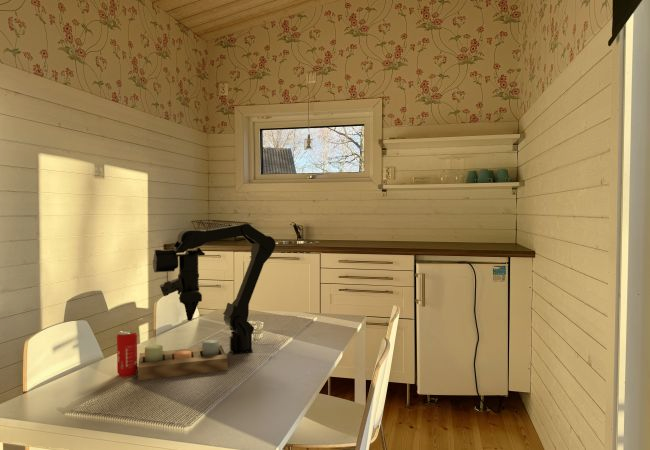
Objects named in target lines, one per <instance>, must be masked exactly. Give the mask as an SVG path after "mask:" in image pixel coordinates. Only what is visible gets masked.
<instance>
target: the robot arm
mask: <svg viewBox="0 0 650 450" xmlns="http://www.w3.org/2000/svg"><path fill="white" fill-rule="evenodd" d="M237 237H242V238H244V239H245V240H246V241H247V242H248V243H249V244H250V245H251V248H250V260H249V264H248V266H247V268H246V272H245V273H244V277H243V278H242V279H243V280H242V282H241V285H240V288H239V289H238V292H237V294H236V298H235V299H234V301H232V303H230V302H227V303H226V308H225V310H224V311H223V313H222V314H223V315H224V316H223V321H224V323H225V325H226V326H228V328H229V330H230V335H229V337H228V338H229V339H228V340H229V342H228V343H229V350H230V351H231V353H232V354H233V355H235V354H236V355H237V354H246V353H253V352H254V350H253V347H252V346H253V345H252V342H253V341H252V340H253V339H252V336H253V334H254V333H253V332H254V331H255V326H253V325H252V324H251V323H250V322H249V321H248V318H249V314H250V313H249V312H250V309H249V307H250V306H249V305H250V302H251V299H252V297H253V294H254V292H255V288H256V287H257V283H258V280H259V278H260V275H261V273H262V270H263V267H264V265H265V263H266V262H267V261H268V260H269V258H271V256H272V254H273V253H274V251H275V249H276V246H277V245H276V244H277V243H276V241H275V239H274V237H272V236H269V235H266V234H264V233H263V232H261V231H259V230H258V229H256V228H255V227H254V226H252V225H251V224H250V223H243V222H242V223H240V224H235V225H229V226H224V227H217V228H212V229H184V230H181V231H180V232H179V233H178V234H177V238H176V239H177V240H176V242H175V243H174V244H173V246H172V247H171V249H154V254H153V259H152V269H153V273H168V272H175V270H176V269H179V271H178V272H179V273H178V274H177V278H175V279H171V280H168V281H165V282H163V283H162V284H160V286H159V289H160V291H161V292H162V295H163V297H167V296H169V295H171V294H173V293H175V292H177V295H179V296H178V299H179V303H181V304H183V305H184V309H185V314H186V319H187V321H189V322H191V321H192V320H193V317H194V314H195V312H196V310H197V308H198V305H199V303H200V302H202V301H203V296H202V295H203V294H202V292H200V286H199V278H200V273H199V256H205V255H206V253H205V252H204V251H202V249H201V248H200V247H201V246H204V245H206V244H208V243H211V242H216V241H220V240H221V241H222V240H227V239H232V238H237Z"/></svg>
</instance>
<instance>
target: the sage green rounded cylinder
mask: <svg viewBox="0 0 650 450" xmlns="http://www.w3.org/2000/svg"><path fill="white" fill-rule="evenodd" d="M201 345H202V346H201V347H202V356H203V357H204V356H213V355H219V346H220V341H219V340H217V339H207V340H203V341H202V342H201Z"/></svg>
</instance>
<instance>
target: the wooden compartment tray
mask: <svg viewBox="0 0 650 450" xmlns="http://www.w3.org/2000/svg"><path fill="white" fill-rule="evenodd" d="M178 351H191V358H184V359H174V353H175V352H178ZM228 364H229V362H228V357H227V355H226V352H225V350H224V348H223V346H222V345H219V355H213V356H204V357H203V356H202V346H201V347H193V348H192V347H191V348H181V349H171V350H163V361H155V362H145V352H142V353H139V357H138V363H137V380H138V381H143V380H153V379H162V378H163V379H164V378H170V377H171V378H172V377H178V376H179V377H180V376H187V375H188V376H189V375H196V374H204V373H206V374H207V373H216V372H222V371H223V372H224V371H228V370H229V369H228Z"/></svg>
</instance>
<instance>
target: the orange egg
mask: <svg viewBox="0 0 650 450" xmlns="http://www.w3.org/2000/svg"><path fill="white" fill-rule="evenodd" d="M184 358H191V351H178V352H175V353H174V359H184Z"/></svg>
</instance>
